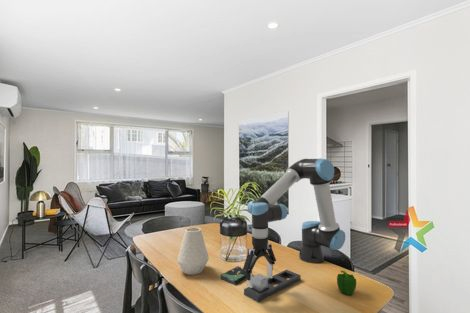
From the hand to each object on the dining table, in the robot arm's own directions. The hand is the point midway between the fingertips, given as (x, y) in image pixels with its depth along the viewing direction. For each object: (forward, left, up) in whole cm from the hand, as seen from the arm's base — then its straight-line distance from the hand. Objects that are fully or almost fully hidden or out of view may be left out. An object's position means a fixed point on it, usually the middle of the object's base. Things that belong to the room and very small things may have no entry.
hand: (260, 281), depth 121 cm
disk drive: (-3, -20, -6) cm, 21 cm away
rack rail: (-10, 0, -5) cm, 11 cm away
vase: (+10, -42, -6) cm, 44 cm away
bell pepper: (-32, +26, -6) cm, 41 cm away
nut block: (0, 0, -6) cm, 6 cm away
